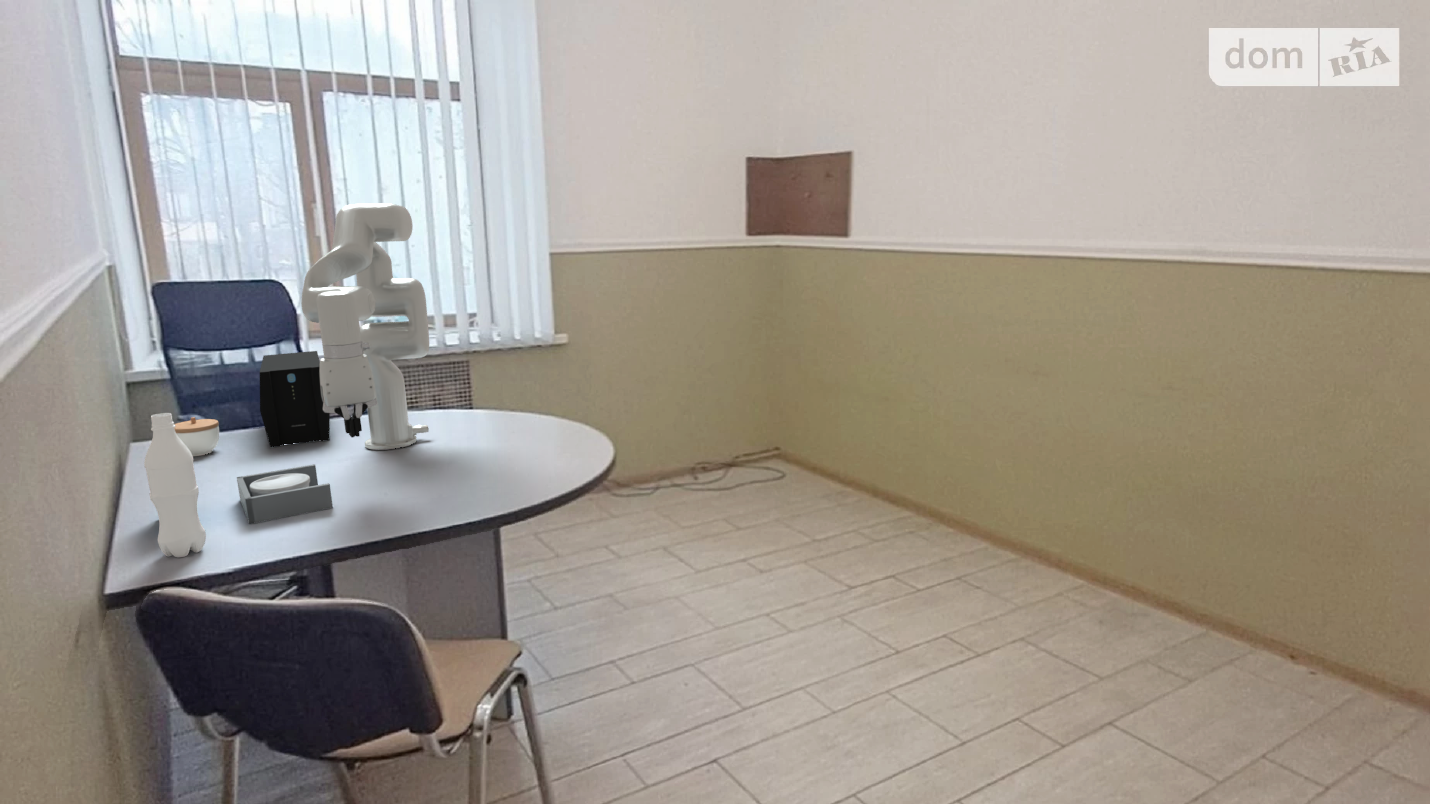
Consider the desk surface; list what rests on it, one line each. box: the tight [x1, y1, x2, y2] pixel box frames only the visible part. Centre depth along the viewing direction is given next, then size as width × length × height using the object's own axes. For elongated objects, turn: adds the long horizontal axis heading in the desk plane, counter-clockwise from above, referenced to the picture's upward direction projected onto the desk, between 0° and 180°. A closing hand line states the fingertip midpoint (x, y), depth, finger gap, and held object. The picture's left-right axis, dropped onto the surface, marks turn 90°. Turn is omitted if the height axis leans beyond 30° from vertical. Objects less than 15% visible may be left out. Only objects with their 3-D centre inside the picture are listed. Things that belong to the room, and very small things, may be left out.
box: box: [236, 464, 334, 525], centre depth 173 cm, size 15×18×5 cm
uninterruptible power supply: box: [259, 350, 331, 448], centre depth 235 cm, size 16×34×20 cm, turn 26°
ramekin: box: [250, 473, 310, 497], centre depth 173 cm, size 11×11×5 cm
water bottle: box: [143, 412, 207, 558], centre depth 146 cm, size 7×7×25 cm
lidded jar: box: [174, 416, 220, 457], centre depth 214 cm, size 11×11×9 cm
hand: (354, 435), depth 180 cm, fingers closed
